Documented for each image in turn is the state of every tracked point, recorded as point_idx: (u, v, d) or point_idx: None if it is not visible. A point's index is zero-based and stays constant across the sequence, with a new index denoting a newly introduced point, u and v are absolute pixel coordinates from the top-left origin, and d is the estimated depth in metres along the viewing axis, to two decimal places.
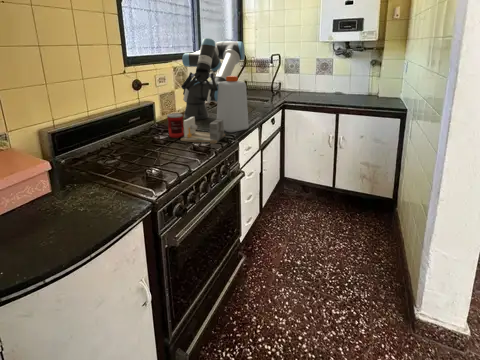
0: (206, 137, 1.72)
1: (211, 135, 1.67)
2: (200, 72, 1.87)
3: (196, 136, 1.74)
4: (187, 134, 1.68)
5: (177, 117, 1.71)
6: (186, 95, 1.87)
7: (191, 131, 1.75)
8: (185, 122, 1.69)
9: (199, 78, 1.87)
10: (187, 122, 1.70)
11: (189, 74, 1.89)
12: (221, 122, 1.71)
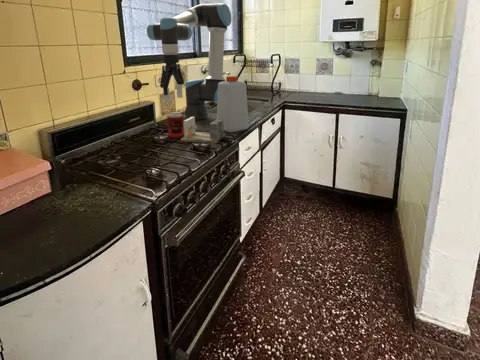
0: (206, 137, 1.72)
1: (211, 135, 1.67)
2: None
3: (196, 136, 1.74)
4: (187, 134, 1.68)
5: (177, 117, 1.71)
6: (178, 91, 1.76)
7: (191, 131, 1.75)
8: (185, 122, 1.69)
9: None
10: (187, 122, 1.70)
11: None
12: (221, 122, 1.71)
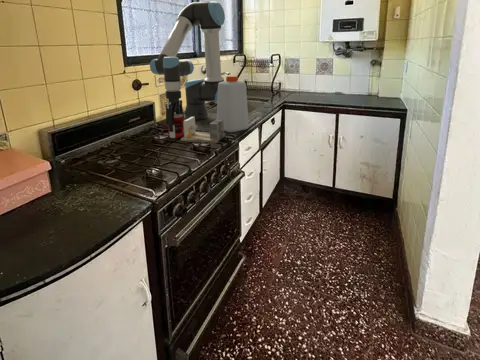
0: (206, 137, 1.72)
1: (211, 135, 1.67)
2: None
3: (196, 136, 1.74)
4: (187, 134, 1.68)
5: (177, 117, 1.71)
6: None
7: (191, 131, 1.75)
8: (185, 122, 1.69)
9: None
10: (187, 122, 1.70)
11: None
12: (221, 122, 1.71)
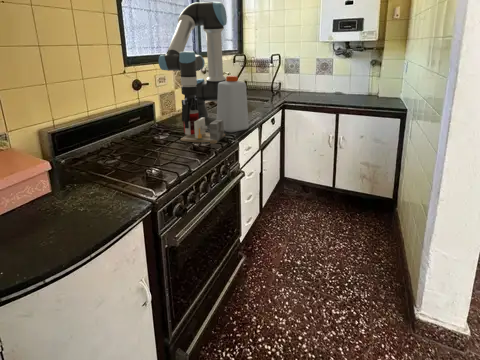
0: (206, 137, 1.72)
1: (211, 135, 1.67)
2: None
3: None
4: None
5: (193, 113, 1.68)
6: None
7: (201, 132, 1.74)
8: (196, 123, 1.67)
9: None
10: (198, 123, 1.68)
11: None
12: (221, 122, 1.71)
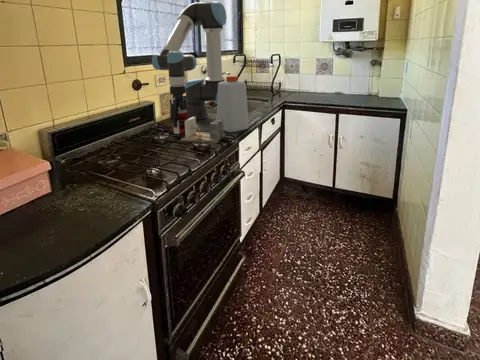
0: (206, 137, 1.72)
1: (211, 135, 1.67)
2: None
3: (196, 136, 1.74)
4: None
5: (181, 113, 1.70)
6: None
7: (192, 131, 1.75)
8: (186, 122, 1.69)
9: None
10: (188, 122, 1.70)
11: None
12: (221, 122, 1.71)
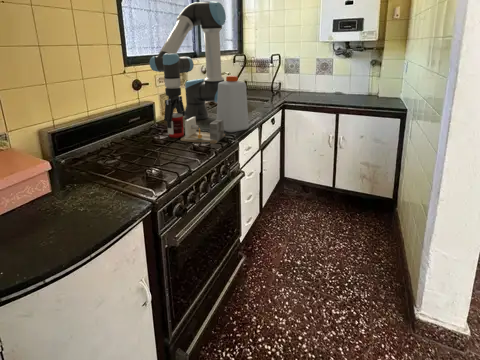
0: (206, 137, 1.72)
1: (211, 135, 1.67)
2: None
3: (196, 136, 1.74)
4: None
5: (177, 117, 1.71)
6: None
7: (192, 131, 1.75)
8: (186, 122, 1.69)
9: None
10: (188, 122, 1.70)
11: None
12: (221, 122, 1.71)
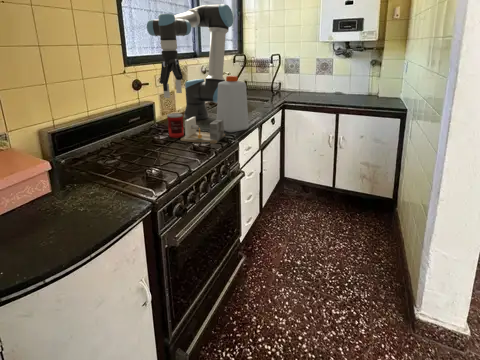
0: (206, 137, 1.72)
1: (211, 135, 1.67)
2: None
3: (196, 136, 1.74)
4: None
5: (177, 117, 1.71)
6: (178, 86, 1.78)
7: (192, 131, 1.75)
8: (186, 122, 1.69)
9: None
10: (188, 122, 1.70)
11: None
12: (221, 122, 1.71)
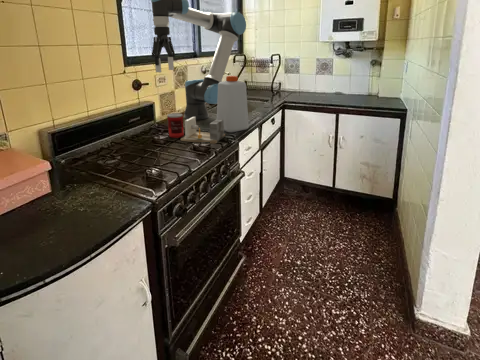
0: (206, 137, 1.72)
1: (211, 135, 1.67)
2: None
3: (196, 136, 1.74)
4: None
5: (177, 117, 1.72)
6: (170, 63, 1.85)
7: (192, 131, 1.75)
8: (186, 122, 1.69)
9: None
10: (188, 122, 1.70)
11: None
12: (221, 122, 1.71)
